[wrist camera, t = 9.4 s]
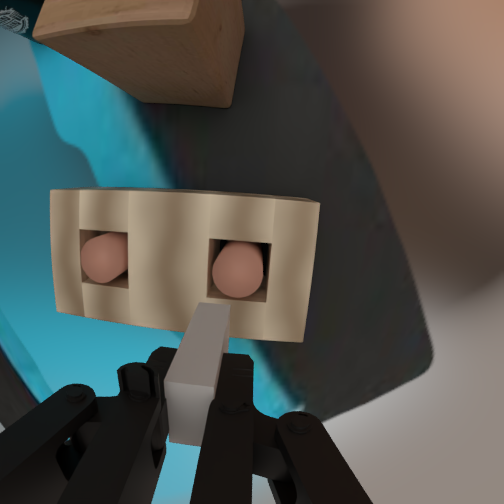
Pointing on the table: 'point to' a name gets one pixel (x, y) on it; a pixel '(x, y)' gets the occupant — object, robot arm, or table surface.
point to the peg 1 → (105, 256)
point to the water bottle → (20, 16)
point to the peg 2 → (239, 268)
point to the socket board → (184, 256)
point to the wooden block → (151, 45)
